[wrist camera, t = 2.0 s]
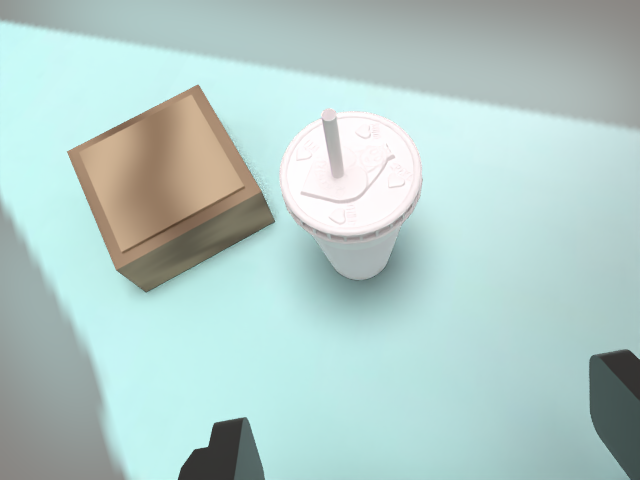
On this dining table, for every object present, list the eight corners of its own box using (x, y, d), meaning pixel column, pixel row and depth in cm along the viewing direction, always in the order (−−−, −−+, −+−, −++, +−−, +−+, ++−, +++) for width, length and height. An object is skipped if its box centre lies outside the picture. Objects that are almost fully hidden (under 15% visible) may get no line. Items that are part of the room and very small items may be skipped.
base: (216, 122, 37) (197, 81, 33) (275, 221, 34) (260, 189, 30) (99, 183, 36) (64, 149, 32) (146, 292, 33) (113, 268, 29)
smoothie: (289, 231, 33) (230, 83, 21) (381, 187, 34) (378, 16, 21) (335, 321, 31) (300, 216, 18) (433, 271, 31) (467, 135, 18)
